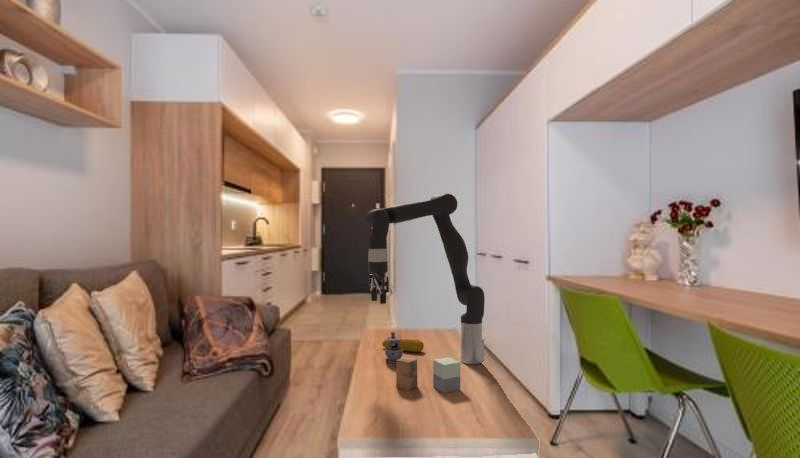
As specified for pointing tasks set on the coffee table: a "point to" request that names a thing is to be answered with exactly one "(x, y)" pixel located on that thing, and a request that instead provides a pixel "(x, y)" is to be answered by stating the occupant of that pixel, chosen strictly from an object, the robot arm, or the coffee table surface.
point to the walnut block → (406, 373)
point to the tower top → (446, 368)
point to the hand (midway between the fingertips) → (378, 302)
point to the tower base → (446, 384)
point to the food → (407, 345)
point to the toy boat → (393, 348)
